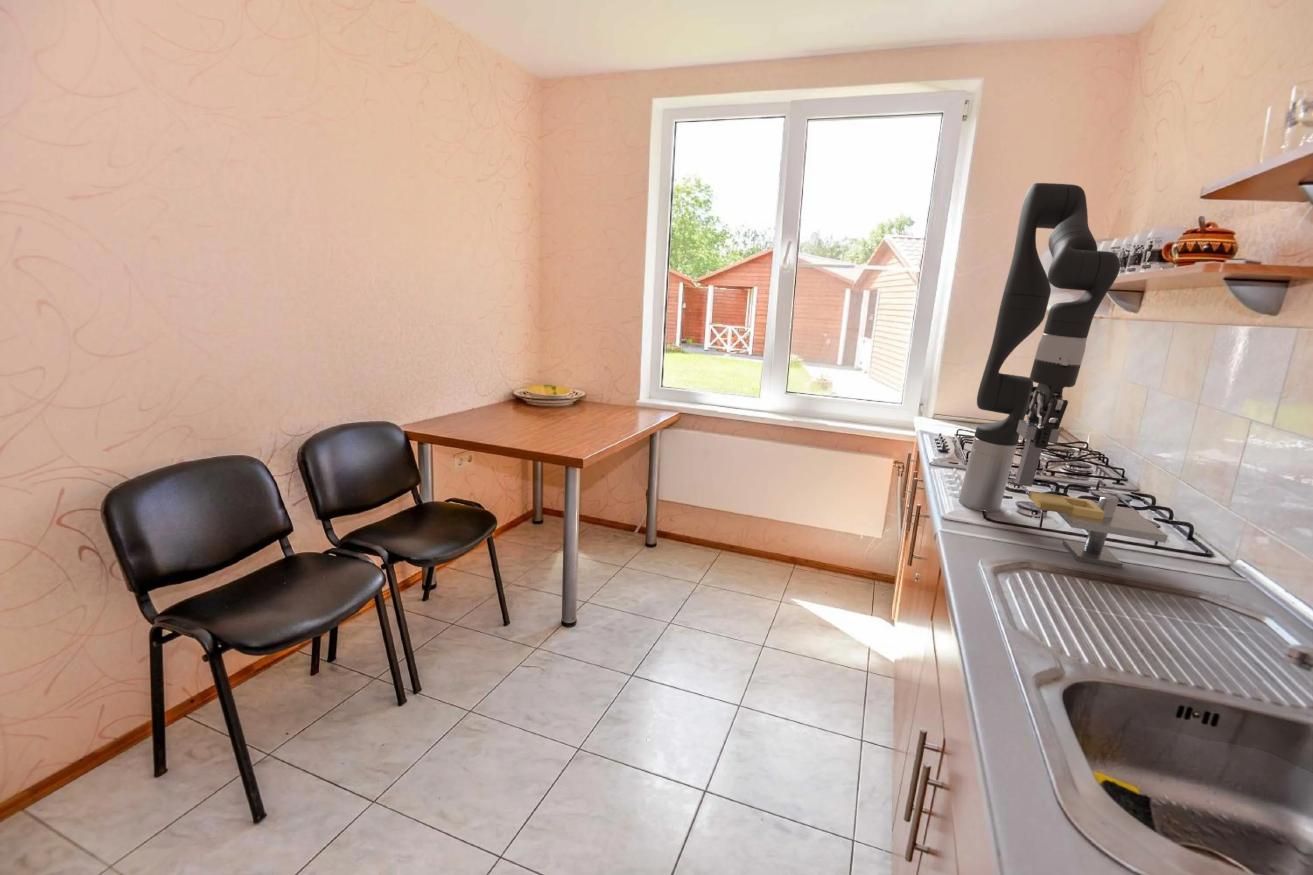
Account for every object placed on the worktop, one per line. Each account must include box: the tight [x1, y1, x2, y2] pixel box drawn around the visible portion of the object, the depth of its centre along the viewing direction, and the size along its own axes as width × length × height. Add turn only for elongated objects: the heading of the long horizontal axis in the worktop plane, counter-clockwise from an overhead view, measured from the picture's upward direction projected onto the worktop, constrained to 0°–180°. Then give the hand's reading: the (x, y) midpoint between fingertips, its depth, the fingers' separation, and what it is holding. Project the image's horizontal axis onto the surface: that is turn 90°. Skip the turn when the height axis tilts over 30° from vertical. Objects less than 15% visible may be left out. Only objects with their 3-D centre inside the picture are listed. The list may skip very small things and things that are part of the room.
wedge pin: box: [1014, 419, 1061, 487], centre depth 118 cm, size 6×6×12 cm
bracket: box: [1028, 490, 1105, 519], centre depth 122 cm, size 11×7×2 cm, turn 75°
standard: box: [1056, 495, 1169, 569], centre depth 121 cm, size 16×14×13 cm
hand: (1034, 442), depth 117 cm, fingers closed on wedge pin, 5 cm apart
